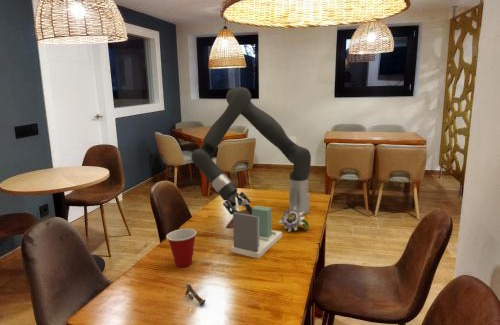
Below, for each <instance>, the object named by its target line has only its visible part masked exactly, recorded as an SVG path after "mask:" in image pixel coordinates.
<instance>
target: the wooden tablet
mask: <svg viewBox="0 0 500 325" xmlns="http://www.w3.org/2000/svg"><path fill="white" fill-rule="evenodd" d="M239 211H240V212H241V213H242V214H248V215H251V214H250V213H249V212H248V211H247V209H242V210H239ZM226 229H227V230H228V229H230V230H231V229H232V230H233V218H232V219H231V220H230V221H229V222H228V223H227V225H226Z"/></svg>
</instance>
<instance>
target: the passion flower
mask: <svg viewBox="0 0 500 325" xmlns="http://www.w3.org/2000/svg"><path fill="white" fill-rule="evenodd" d="M284 211H285V212H284V213H283V216H282V217H281V219H279V221H277V222H278V224H283V225H284V230H287V232H288V233H290V232H292V230H294V231H295V232H296V231H297V230H298V228H299V227H298V226H299V225H301V226H302V228H303V229H304V231H305V232H308V229H309V228H310V225H309V221H307V220H308V219H309V216H308V215H307V213H306V214H303V213H304V212H303V211H301V212H297V211H296V207H293V209H291V210H289V209H286V210H285V209H284ZM304 216H305V217H306V219H307V220H306V219H305V217H304Z"/></svg>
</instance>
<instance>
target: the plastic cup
mask: <svg viewBox="0 0 500 325" xmlns="http://www.w3.org/2000/svg"><path fill="white" fill-rule="evenodd" d="M196 235H197V231H196V230H195V229H193V228H180V229H177V230H176V229H175V230H173V231H171V232H169V233H167V234H166V237H165V238H166V239H167V240H168V243H169V245H170V250H171V254H172V257H173V261H174V264H175V266H176V267H177V268H187V267H189V266H191V265H192V262H193V255H194V248H195V247H194V246H195V242H196V241H195V239H196Z"/></svg>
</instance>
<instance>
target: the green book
mask: <svg viewBox="0 0 500 325" xmlns="http://www.w3.org/2000/svg"><path fill="white" fill-rule="evenodd" d="M272 209H273V208H272V207H267V206H261V205H255V206H254V207H252V215H254V216H258V217H259V236H261V237H266V238H269V237H270V236H271V235H272V230H273V229H272V228H273V227H272V224H273V222H272V216H273V215H272V212H273V211H272Z"/></svg>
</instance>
